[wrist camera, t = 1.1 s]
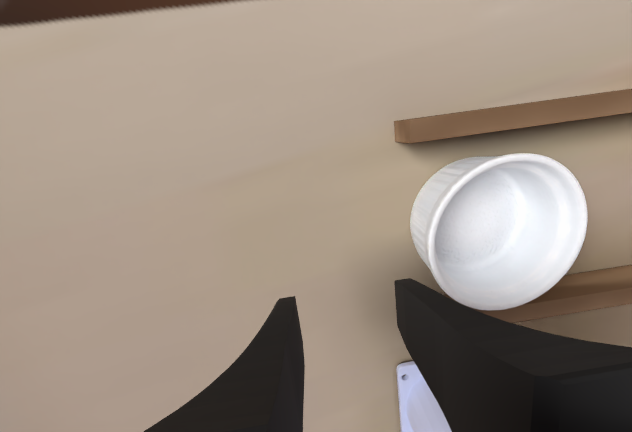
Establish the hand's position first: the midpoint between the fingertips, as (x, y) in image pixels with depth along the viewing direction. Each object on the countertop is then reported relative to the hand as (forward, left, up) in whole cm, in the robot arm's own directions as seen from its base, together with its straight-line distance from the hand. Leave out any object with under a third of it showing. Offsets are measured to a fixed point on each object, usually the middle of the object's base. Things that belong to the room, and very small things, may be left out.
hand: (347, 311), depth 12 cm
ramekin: (0, -10, -9) cm, 13 cm away
